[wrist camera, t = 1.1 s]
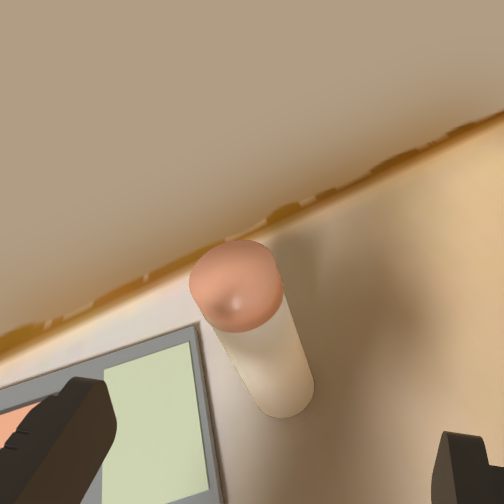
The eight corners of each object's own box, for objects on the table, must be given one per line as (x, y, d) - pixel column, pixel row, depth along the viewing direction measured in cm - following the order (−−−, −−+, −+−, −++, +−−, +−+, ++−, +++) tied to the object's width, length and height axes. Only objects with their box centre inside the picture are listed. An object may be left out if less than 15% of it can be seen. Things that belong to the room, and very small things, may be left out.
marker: (305, 350, 35) (264, 229, 26) (324, 407, 32) (285, 292, 23) (246, 369, 35) (184, 256, 26) (259, 428, 32) (194, 322, 23)
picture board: (197, 332, 39) (192, 324, 38) (225, 517, 29) (219, 512, 28) (-8, 400, 39) (-18, 394, 38) (-48, 604, 29) (-63, 601, 29)
